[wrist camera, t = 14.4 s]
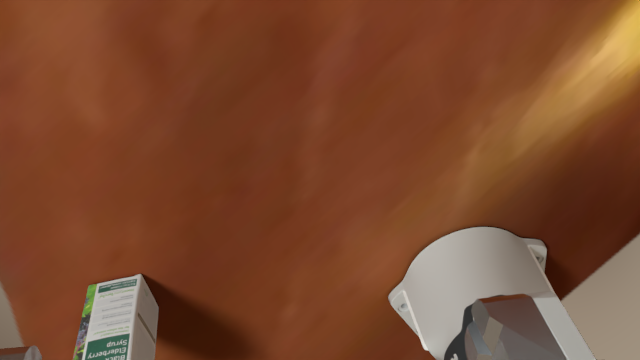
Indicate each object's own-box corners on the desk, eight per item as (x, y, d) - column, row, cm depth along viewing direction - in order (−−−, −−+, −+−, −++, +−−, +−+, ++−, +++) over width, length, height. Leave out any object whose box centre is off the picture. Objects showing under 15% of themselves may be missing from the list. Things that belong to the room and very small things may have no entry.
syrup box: (142, 271, 60) (124, 396, 49) (160, 307, 64) (149, 432, 52) (88, 283, 60) (58, 411, 49) (110, 318, 64) (87, 445, 52)
